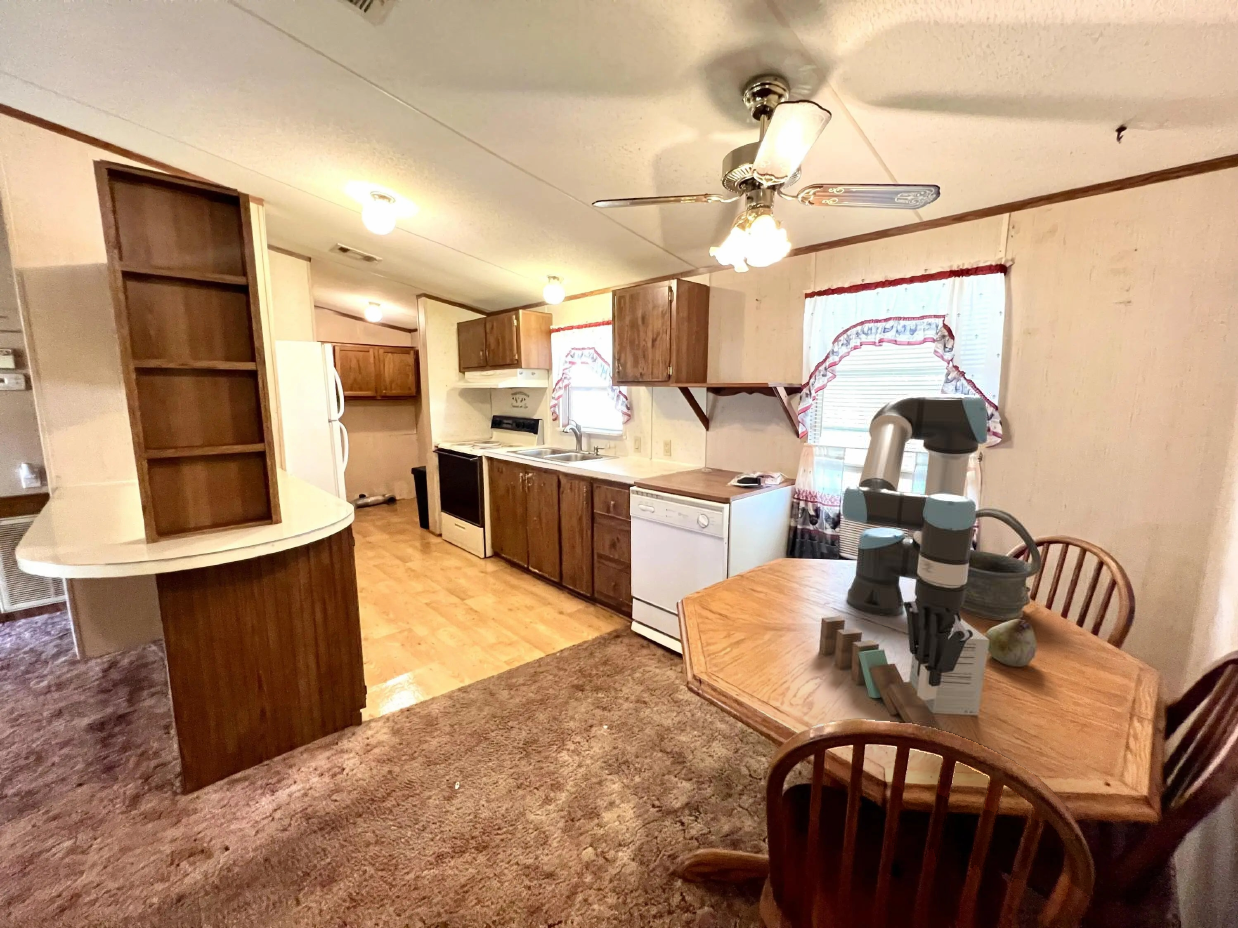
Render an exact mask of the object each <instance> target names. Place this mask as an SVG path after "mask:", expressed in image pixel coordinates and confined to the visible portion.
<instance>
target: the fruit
mask: <svg viewBox="0 0 1238 928" xmlns="http://www.w3.org/2000/svg"><path fill="white" fill-rule="evenodd" d="M984 636H985V637H986V638H987V639H989V646H988V653H989V654H990V655H991V657H993V658H994V659H995V660H997V661H998V662H1000V663H1002V664H1004V665H1006V666H1012V667H1017V668H1018V667H1024V666H1027V665H1029V664H1030V663H1031V662H1032V660H1033V659H1034V657H1035V655H1036V651H1037V649H1038V643H1037V639H1036V636H1035V633H1034V629H1033V627H1032V625H1031V624H1030V623H1028V621H1027V620H1023V619H1021V618H1020V619H1015V620H1011V621H1005V622H1001V623H999V624H998V625H995V626H992V627H991V628H989V629H988V630H987V631H986V633H985V635H984Z"/></svg>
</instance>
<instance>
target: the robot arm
mask: <svg viewBox="0 0 1238 928" xmlns="http://www.w3.org/2000/svg"><path fill="white" fill-rule="evenodd" d="M987 414H988V413H987V403H986V400H985V399H984V397H982V396H978V395H968V394H966V395H965V394H907V395H904V396H903V395H902V396H901V397H897V398H896V399H894V400H891V401H890V402H888V403H886V404H885V405H884V406H883V407H881V408H880V409H879V410H878V411H877V412H876V413H875V415H874V416H873V417H872V418H871V421H870V423H869V424H870V425H869V428H868V429H869V430H868V433H869V436H870V441H869V445H868V448H867V452H866V456H865V459H864V463H863V467H862V469H861V470H862V471H861V475H860V479H859V482H858V485H856V486H848V487H846V489H845V491H844V493H843V498H842V511H841V512H842V516H843V519H844V520H846V521H851V522H854V523H855V522H856V523H859V524H862V525H873V526H880V527H875V528H874V527H873V528H867V529H865V530H863V531H862V532H860V535H859V539H858V543H857V557H856V558H857V559H856V567H855V576H854V578H853V581H852V583H851V585H850V588H848V591H847V595H846V596H847V597H846V600H847V603H849V604H850V605H851V606H853V607H854V608H856V609H858V610H861V611H863V612H865V613H870V614H873V615H878V616H879V615H880V616H897V615H900V614H901V613H903V612H904V610H905V613H906V621H907V632H908V633H907V634H908V635H907V636H908V643H909V644H908V645H909V652H910V654H912V655H913V654H915V655H916V657H917V660H918V670H917V675H918V677H919V683H918V692H917V696H919V697H920V698H921V699H922V700H929V699H935V698H936V690H937V686H939V685H940V683H941V675H942V673H945V672H952V671H954V668H955V666H956V664H957V661H958V659H959V657H960V654H961V652H962V650H963V648H964V645H965V643H966V641H967V640H968V639H970V638H971V637H972V636H973V633H972V631H971V630H966V629H965V628H964V627H963V625H962V624H961V623H960V621H961V618H962V616H961V613H960V612H961V610H960V608H961V607H962V605H963V603H964V597H965V589H966V587H965V586H964V584H966V582H967V575H968V566H969V554H970V550H971V548H972V540H973V535H974V527H975V524H976V520H977V519H976V518H975V516H976V515H975V511H977V510H976V508H977V506H976V503H975V501H973V499H971V498H968V497H965V496H964V495H965V494H964V493H965V488H966V480H967V473H968V467H969V460H970V456H971V455H973V454H975V453H977V451H978V449H979V445H982V444H986V443H987V441H988V440H987V439H988V419H987V418H988V417H987V416H988V415H987ZM909 440H915V441H916V440H918V441H923V443H922V444H923V445H922V446H923V448H924V449H925V450H926V451H927V452H928V460H927V468H926V479H925V485H924V486H925V488H924V493H914V492H907V491H906V492H905V491H898V488H899V481H900V476H901V473H902V472H901V470H902V465H903V458H904V453H905V447H906V443H907V442H909ZM902 530H907V531H908V530H909V531H914V533H913V536H912V537H908V536H906V534H905V532H904V531H902ZM900 577H901V578H906V579H910V580H915V588H914V595H915V599H914V600H909V601H904V599H903V595H902V594H903V593H902V591H901V587H900ZM952 628H953V630H952ZM950 635H951V636H950ZM949 636H950V638H949V639H948V637H949ZM916 646H918V647H916Z"/></svg>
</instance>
